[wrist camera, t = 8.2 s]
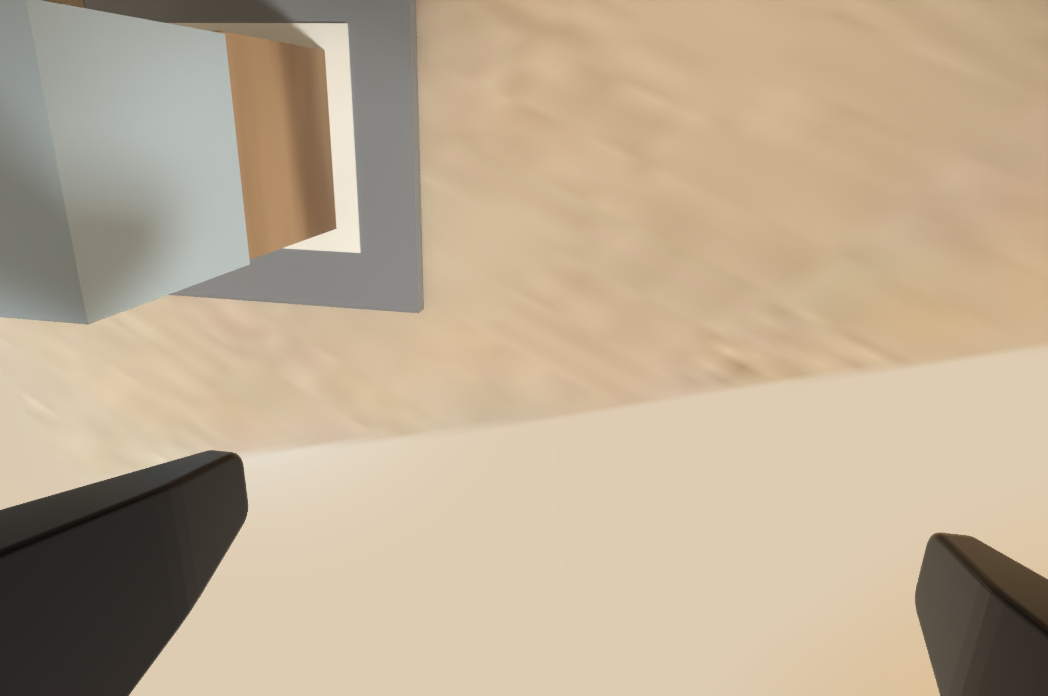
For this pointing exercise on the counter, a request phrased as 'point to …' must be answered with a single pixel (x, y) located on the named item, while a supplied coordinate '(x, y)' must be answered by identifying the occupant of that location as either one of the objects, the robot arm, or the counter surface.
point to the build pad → (335, 149)
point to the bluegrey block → (112, 162)
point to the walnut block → (281, 141)
